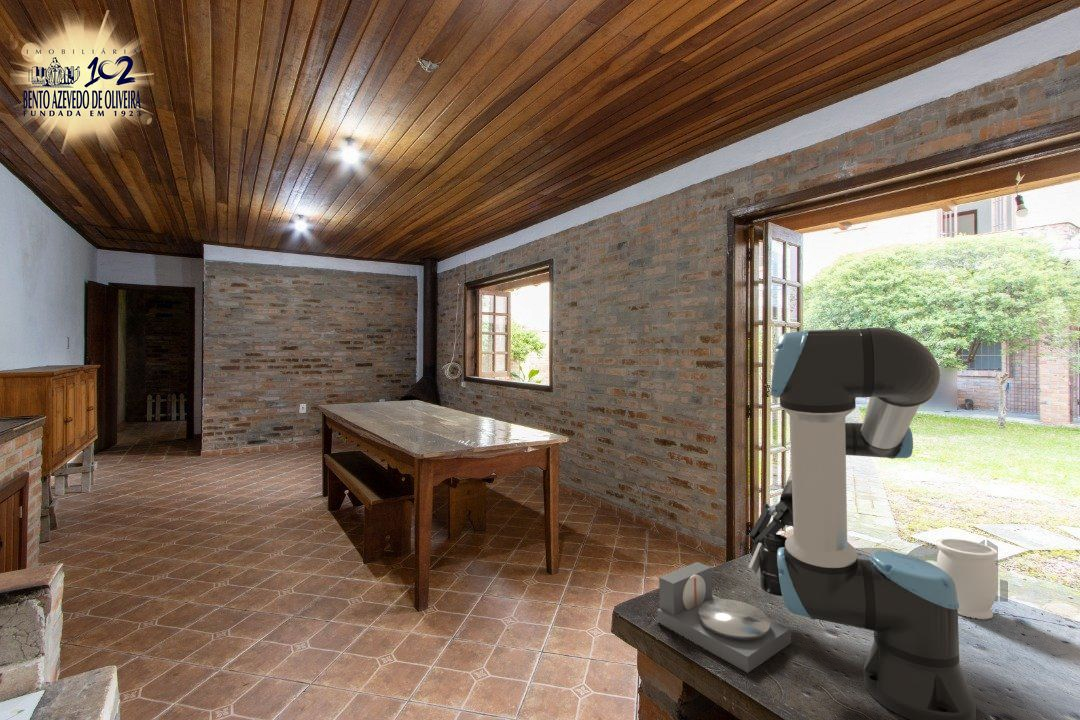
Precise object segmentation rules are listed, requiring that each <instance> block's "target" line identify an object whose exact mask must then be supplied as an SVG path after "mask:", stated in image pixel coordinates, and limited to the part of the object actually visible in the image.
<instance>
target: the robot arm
mask: <svg viewBox="0 0 1080 720" xmlns="http://www.w3.org/2000/svg"><path fill="white" fill-rule="evenodd" d="M773 359H774V360H773V368H772V376H771V378H772V379H771V387H770V389H771V390H770V395H771V396H772V397H774V398H778V399H779V407H780V408H781V409H783V411H784V412H786V413H787V414H788V416H789V433H790V434H789V435H790V461H791V467H790V469H791V470H790V471H791V472H790V473H789V476H788V478H787V480H786V482H785V485H784V488H783V489H782V493H781V494H780V499H779V502H778V503H776V504H775V505H769V504H768V503H764V504H763V506H762V512H761V514H760V515H759V517H758V519H757V520H756V522H755V524H754V526H753V527H752V529H751V531H750V532H749V535H748V537H749V539H751V541H752V542H753V543H754V544H753V546H752V549H751V551H750V555H751V556H752V557H751V560H750V561H749V564H748V569H749V571H750V572H751V573H752V574H754V575H757V574H758V571H759V570H760V549H761V547H763V546H765V544H764V535H765V534H777V533H778V532H779V531H780V530H781V529H784V528H785V526H787V527H792V528H793V533H792V534H791V535H789V536H788V537H786V538H787V539H786V541H785V547H782V548H779V549H778V551H777V564H778V571H779V581H780V587H781V592H782V596H781V597H782V600H783V603H784V605H785V607H786V608H787V610H788V611H789V612H790V613H792V614H794V615H798V616H802V617H805V618H808V619H811V620H813V621H814V620H819V621H824V622H829V623H833V624H834V623H835V624H838V625H839V624H840V625H843V626H849V627H854V628H858V629H864V630H869V631H873V642H872V644H871V647H870V650H869V651H868V652H869V653H868V655H867V658H866V660H865V662H864V666H863V671H862V673H863V685H864V687H865V689H866V691H867V692H868V693H869V694H870V696H871V697H873V699H874V700H876V702H878V703H879V704H880V705H882V706H883V707H884V708H886V709H888V710H889V711H891V712H893V713H895V714H896V715H898V716H900V717H902V718H905V719H907V720H909V719H911V720H975V719H976V720H977V715H976V714H977V712H976V707H977V706H976V702H975V698H974V696H973V694H972V691H971V689H970V687H969V684H968V681H967V679H966V677H965V674H964V671H963V669H962V667H961V666H962V665H961V664H960V640H959V639H960V638H959V636H960V635H959V614H958V609H959V603H958V600H957V592H956V586H955V583H954V581H953V579H952V578H951V577H950V576H949V575H948V574H947V573H946V572H945V571H943V570H942V569H940V568H939V567H937V565H935V564H932V563H931V562H928V561H926V560H924V559H921V558H918V557H916V556H912V555H909V554H904V553H900V552H895V551H892V550H891V551H890V550H889V551H888V550H877V551H873V552H872V553H871V555H870V556H869V560H868V559H862V558H858V557H859V556H858V551H857V549H856V548H855V547H854V546H853V545H852V544H851V543H850V542H849V541H848V513H847V512H848V509H847V507H848V504H847V456H855V457H870V458H871V457H872V458H884V459H885V458H886V459H891V460H893V459H894V460H895V459H908V458H910V457H911V456H912V455H913V449H914V437H913V433H912V430H911V429H912V428H910V426H911V424H912V422H913V420H914V417H915V415H916V414H917V412H918V410H919V408H920V406H921V405H923V404H925V403H927V402H928V401H930V400H931V399H932V397H933V396H934V395H935V393H936V391H937V390H938V387H939V384H940V380H941V379H940V378H941V371H940V367H939V363H938V361H937V360H936V359H935V357H934V354H932V352H931V351H930V350H929V348H927V347H926V345H924V344H923V343H922V342H920V341H919V340H917V339H916V338H914V337H912V336H910V335H908V334H906V333H905V332H902V331H898V330H896V329H891V328H886V327H865V328H846V329H844V328H841V329H817V330H816V329H814V330H808V329H805V330H802V331H801V330H800V331H793V332H784V333H782V334H781V335H780V336H778V338H777V340H776V345H775V351H774V358H773ZM856 398H868V399H869V400H868V402H867V403H868V404H867V406H866V411H865V414H864V418H863V422H846V417H847V416H848V415H849V414H851V413H853V411H854V410H856V408H857V407H856ZM775 513H776V514H775ZM771 519H772V520H771Z"/></svg>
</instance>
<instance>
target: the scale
mask: <svg viewBox="0 0 1080 720" xmlns="http://www.w3.org/2000/svg"><path fill="white" fill-rule="evenodd" d="M712 573H713V571H712V566H709V565H707V564H704V563H701V562H699V561H696V562H693V563H691V564H689V565H686V566H683V567H681V568H679V569H676V570H674V571H671V572H668V573H667V574H664V575H661V576H659V577H658V578H659V580H658V586H659V587H658V588H659V589H658V590H659V607H658V608H657V609H656V617H657V619H656V621H658V622H659V623H661V624H663V625H664V626H666V627H668V628H670V629H672V630H674V631H675V632H677V633H678V634H680V635H682V636H684V637H685V638H684V637H683V638H684V639H686V638H687V639H686V640H688V639H689V640H690V641H689V640H688V641H689V642H691V641H692V642H691V643H693V642H694V643H693V644H695V645H697V646H698V645H699V647H700V646H701V648H702V647H703V648H702V649H704V650H706V651H707V650H708V652H709V653H711V654H713V655H715V656H717V657H719V658H721V659H722V660H724V661H726V662H727V663H730V664H731V665H732V666H735V667H737V668H738V669H740V670H742V671H744V672H745V673H747V674H748V673H750V672H751V671H753V670H754V669H757V667H758V666H760V665H761V664H764V662H766V661H767V660H769V659H770V658H772V657H773V656H775V655H776V654H777V653H779V652H780V651H782V650H784V649H785V648H786V647H787V646H789V645H790V644H792V631H791V627H788V626H786V625H784V624H782V623H779V622H776V621H774V620H772V619H770V618H769V621H770V631H769V633H768V634H767V635H765V636H764V637H761V638H758V639H752V640H740V639H733V638H729V637H725V636H722V635H719V634H717V633H715V632H713V631H711V630H709V629H708V628H706V627H705V626H704V625H703V624H702V623H701V621H700V619H699V607H700V606H701V605H702V604H703V603H704V602H707V601H710V600H715V599H723V598H721V597H719V596H717V595H715V594H713V575H712ZM659 623H658V624H659ZM664 626H663V627H664ZM666 627H665V628H666ZM668 628H667V629H668ZM675 632H674V633H675ZM677 633H676V634H677ZM678 634H677V635H678ZM680 635H679V636H680ZM682 636H681V637H682Z"/></svg>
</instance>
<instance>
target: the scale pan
mask: <svg viewBox="0 0 1080 720" xmlns="http://www.w3.org/2000/svg"><path fill="white" fill-rule="evenodd" d="M699 619H700V621H701V623H702V624H703V625H704V626H705V627H706V628H708V629H709V630H711V631H713V632H715V633H717V634H719V635H722V636H725V637H729V638H733V639H740V640H752V639H758V638H761V637H764V636H765V635H767V634H768V633H769V631H770V621H769V619H770V618H769V616H768V615H767V613H765V612H764V611H763V610H761V609H760V608H759V607H757V606H755V605H752V604H749V603H747V602H744V601H740V600H735V599H731V598H730V599H729V598H728V599H727V598H722V599H715V600H710V601H707V602H704V603H703V604H702V605H701V606H700V607H699Z"/></svg>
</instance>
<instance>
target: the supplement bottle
mask: <svg viewBox="0 0 1080 720" xmlns="http://www.w3.org/2000/svg"><path fill="white" fill-rule="evenodd" d="M787 538H788V537H786V536H785V535H782V534H777V533H776V534H765V535H764V544H765V546H763V547H761V549H760V567H759V586H760V588H761V589H762V590H763V592H765V593H768V594H770V595H773V596H777V597H782V592H781V587H780V581H779V571H778V564H777V551H778V549H779V548H782V547H785V541H786V539H787Z"/></svg>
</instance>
